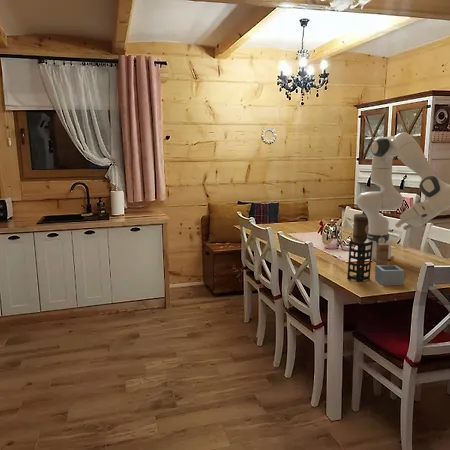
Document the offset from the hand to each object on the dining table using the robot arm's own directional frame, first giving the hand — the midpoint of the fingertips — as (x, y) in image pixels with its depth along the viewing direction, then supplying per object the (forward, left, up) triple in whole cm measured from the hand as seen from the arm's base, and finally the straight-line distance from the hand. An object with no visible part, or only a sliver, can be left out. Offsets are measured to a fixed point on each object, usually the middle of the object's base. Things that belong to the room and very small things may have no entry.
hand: (400, 227), depth 206 cm
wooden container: (-86, +10, -26) cm, 90 cm away
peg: (-6, -6, -25) cm, 27 cm away
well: (+7, -7, -25) cm, 27 cm away
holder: (+3, -20, -25) cm, 33 cm away
